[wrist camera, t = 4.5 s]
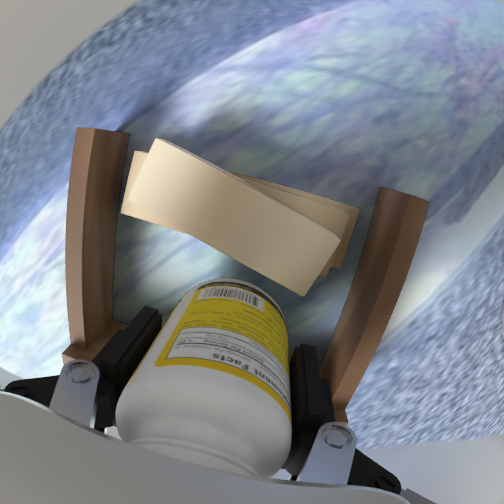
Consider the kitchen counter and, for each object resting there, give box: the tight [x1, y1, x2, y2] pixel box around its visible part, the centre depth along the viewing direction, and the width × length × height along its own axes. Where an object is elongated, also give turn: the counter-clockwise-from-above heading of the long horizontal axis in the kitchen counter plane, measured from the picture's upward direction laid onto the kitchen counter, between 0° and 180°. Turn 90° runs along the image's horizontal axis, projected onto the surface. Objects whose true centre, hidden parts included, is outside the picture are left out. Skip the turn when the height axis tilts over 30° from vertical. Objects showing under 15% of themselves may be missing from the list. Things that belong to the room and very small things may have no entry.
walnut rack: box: [62, 127, 429, 425], centre depth 14 cm, size 15×12×4 cm
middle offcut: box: [121, 151, 350, 277], centre depth 14 cm, size 10×3×1 cm, turn 73°
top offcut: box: [128, 138, 341, 297], centre depth 12 cm, size 8×3×1 cm, turn 61°
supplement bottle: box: [115, 278, 292, 478], centre depth 10 cm, size 5×5×10 cm
